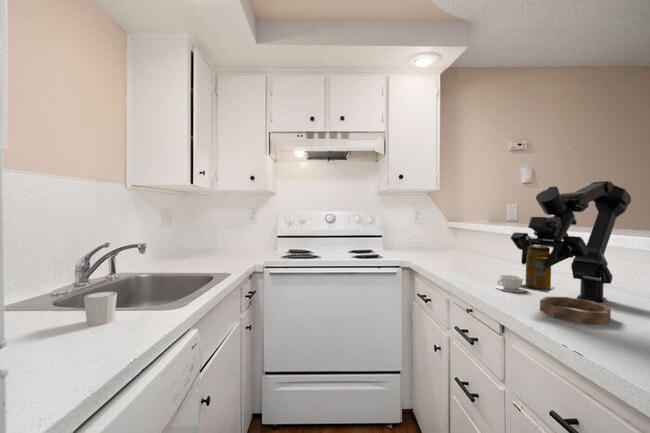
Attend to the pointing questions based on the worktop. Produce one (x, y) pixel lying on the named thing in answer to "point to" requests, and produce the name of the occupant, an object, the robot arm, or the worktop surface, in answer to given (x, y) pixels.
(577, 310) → the ring seat
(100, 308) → the shot glass
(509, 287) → the teacup
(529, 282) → the condiment
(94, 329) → the worktop surface
